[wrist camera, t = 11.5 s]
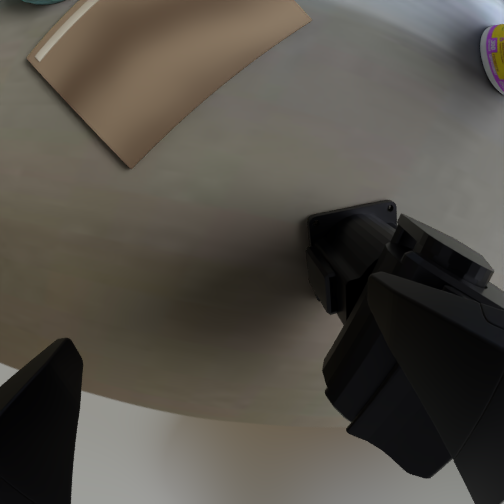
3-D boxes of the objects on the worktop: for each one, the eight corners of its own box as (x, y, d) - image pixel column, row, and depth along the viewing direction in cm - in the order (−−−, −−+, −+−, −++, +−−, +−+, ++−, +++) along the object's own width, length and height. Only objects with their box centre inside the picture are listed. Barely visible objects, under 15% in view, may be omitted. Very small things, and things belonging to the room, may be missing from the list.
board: (309, 22, 15) (312, 19, 15) (133, 167, 18) (130, 169, 17) (195, -79, 11) (195, -84, 11) (30, 59, 14) (25, 57, 13)
